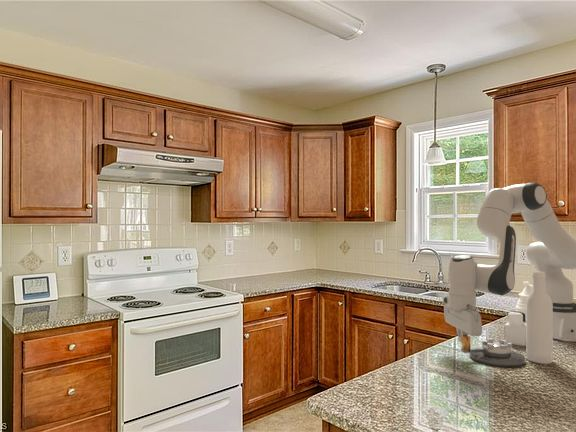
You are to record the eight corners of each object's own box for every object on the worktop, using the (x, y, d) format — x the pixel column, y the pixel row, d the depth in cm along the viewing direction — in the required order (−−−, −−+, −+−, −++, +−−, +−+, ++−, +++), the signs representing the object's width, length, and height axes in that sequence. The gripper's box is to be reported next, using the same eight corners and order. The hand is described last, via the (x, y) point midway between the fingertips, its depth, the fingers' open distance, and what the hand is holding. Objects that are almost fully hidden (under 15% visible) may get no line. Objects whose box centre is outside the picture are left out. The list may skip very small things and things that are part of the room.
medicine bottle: (508, 339, 173) (508, 309, 173) (528, 342, 168) (528, 311, 168) (504, 343, 167) (504, 312, 167) (524, 346, 163) (524, 314, 163)
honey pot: (519, 321, 204) (519, 283, 205) (512, 315, 217) (512, 279, 217) (549, 322, 201) (549, 284, 202) (540, 316, 214) (540, 280, 214)
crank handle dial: (500, 349, 153) (500, 331, 153) (517, 357, 144) (517, 338, 144) (456, 350, 151) (456, 333, 151) (469, 359, 142) (469, 340, 142)
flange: (515, 353, 154) (515, 348, 154) (532, 369, 138) (532, 363, 138) (465, 350, 158) (465, 345, 158) (475, 365, 141) (475, 360, 141)
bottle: (522, 359, 147) (521, 271, 147) (531, 355, 152) (531, 270, 152) (548, 365, 141) (547, 274, 141) (556, 360, 146) (556, 272, 146)
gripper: (487, 308, 140) (487, 351, 139) (457, 296, 160) (457, 334, 160) (468, 308, 139) (468, 351, 139) (440, 297, 159) (440, 334, 159)
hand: (462, 342), depth 150 cm, fingers closed
